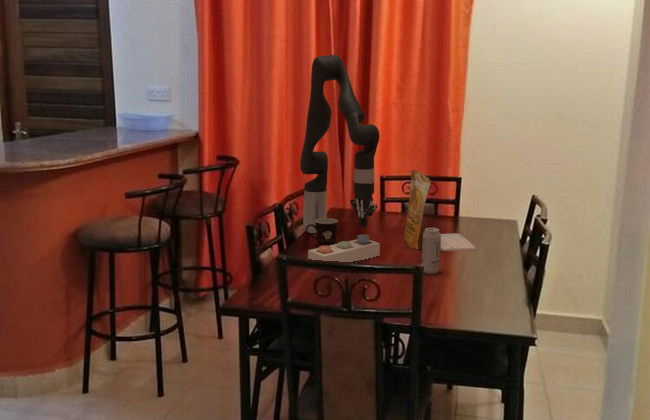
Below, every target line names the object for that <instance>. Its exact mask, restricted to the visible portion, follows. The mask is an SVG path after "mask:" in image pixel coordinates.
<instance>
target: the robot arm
mask: <svg viewBox="0 0 650 420" xmlns="http://www.w3.org/2000/svg"><path fill="white" fill-rule="evenodd" d="M310 74H311V75H310V77H311V78H310V94H309V103H308V109H307V115H306V116H307V118H306V127H305V133H304V134H305V136H304V141H303V146H302V150H301V151H302V152H301V155H300V164H299V166H300V171H301V173H302V174H303V175H316V177H314V178H313V179H311V180H308V181H307V182H305V183H304V187H303V188H304V191H303V192H304V194H303V196H304V198H303V199H304V202H303V203H304V205H303V208H302V214H303V215H302V220H303V222H302V223H303V224H302V229H303V230H304V232H306V227H307V226H308V225H310V224H312V225H315V226H316V222H315V221H316V220H317V219H322V218H327V211H328V209H327V206H328V205H327V202H328V201H327V195H328V194H327V193H328V191H327V190H328V189H327V187H328V170H329V159H328V154H327V153H326V151H322V150H321V151H320V150H319V151H314V150H315V148H316V145H317V144H318V143H319V142H320V140H321V139H322V138H323V137H324V136H326V134H327V132H328V130H329V128H330V125H331V119H332V115H333V114H332V108H331V106H330V103H329V101H328V99H327V98H326V96H325V94H324V85H325V83H326V82H329V81H330V82H331V81H336V82H337V85H338V86H339V96H338V106H339V109H340V112H341V113H342V114H341V115H342V116H343V118H344V119H345V122H346V126H347V131H348V136H349V140H350V141H351V143H353V144H354V145H355V146H363V148H362V149H361V150H359V151H357V152H355V154H354V160H353V161H354V167H353V168H354V169H353V184H352V185H353V192H352V193H353V194H354V198H352V199H350V200H349V203H350V205H351V208H352V210H353V212H354V214H355V215H357V217H359V218H358V219H359V220H358V224H359V227H360V228H363V229H364V228H367V226H368V218H369V217H372V216H373V214H374V213H375V211H376V210H377V208H378V204H375V203H374V197H373V195H374V194H375V177H376V176H375V155H376V153H377V148H378V145H379V142H380V131H379V128H378V127H377V125H375V124H373V123H372V124H362V123H363V122H364V121H365V119H366V115H365V112H364V110H363V108H362V107H361V105H360V103H359V101H358V98H357V97H356V95H355V92H354V90H353V89H354V88H353V86H352V84H351V80H350V77H349V74H348V72H347V69H346V66H345V63H344V61H343V60H342V58H341V57H340V56H339V55H337V54H329V55H321V56H317V57H315V58H314V59H313V61H312V65H311V73H310ZM307 231H308V232H309V234H317V231H316V229H315V228H314V227H313V226H309V227H308V228H307Z"/></svg>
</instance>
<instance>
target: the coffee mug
mask: <svg viewBox="0 0 650 420" xmlns="http://www.w3.org/2000/svg"><path fill="white" fill-rule="evenodd" d="M315 222H316V226H315V225H312V224H310V225H308V226H307V227H306V231H305V233H306V234H308V236H310V237H312V238H313V239H315V240H316V241H317V246H323V245H326V246H330V245H334V244H336V239H337V233H338V232H337V231H338V222H339V220H338V219H335V218H330V217H328V218H322V219H317V220H316V221H315ZM309 226H313V227H314V228H315V229H316V231H317V233H316V236H314V235H312V233H309V232H308V231H307V228H308V227H309Z"/></svg>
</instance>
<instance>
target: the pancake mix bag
mask: <svg viewBox="0 0 650 420" xmlns="http://www.w3.org/2000/svg"><path fill="white" fill-rule="evenodd" d="M410 172H411V179H410V189H409V199H408V204H407V212H406V220H405V228H404V233H403V234H404V236H403V238H404V241H405V243H406V244H407V245H408V246H409V248H410V249H414V250H420V249H422V246H423V233H424V218H423V215H424V211H425V207H426V201H427V198H428V195H429V191H430V188H431V186H432V180H431V179H430V178H429V177H428V176H427V175H424V174H423V173H421V172H419V171H417V170H414V169H412V170H410Z"/></svg>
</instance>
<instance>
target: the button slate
mask: <svg viewBox="0 0 650 420" xmlns="http://www.w3.org/2000/svg"><path fill="white" fill-rule="evenodd" d="M369 240H370V235H368V234H358V235H357V244H360V245H366V244H369Z"/></svg>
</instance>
